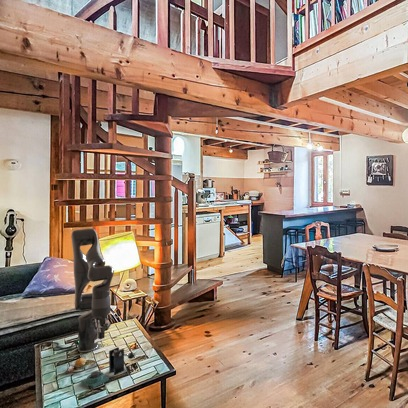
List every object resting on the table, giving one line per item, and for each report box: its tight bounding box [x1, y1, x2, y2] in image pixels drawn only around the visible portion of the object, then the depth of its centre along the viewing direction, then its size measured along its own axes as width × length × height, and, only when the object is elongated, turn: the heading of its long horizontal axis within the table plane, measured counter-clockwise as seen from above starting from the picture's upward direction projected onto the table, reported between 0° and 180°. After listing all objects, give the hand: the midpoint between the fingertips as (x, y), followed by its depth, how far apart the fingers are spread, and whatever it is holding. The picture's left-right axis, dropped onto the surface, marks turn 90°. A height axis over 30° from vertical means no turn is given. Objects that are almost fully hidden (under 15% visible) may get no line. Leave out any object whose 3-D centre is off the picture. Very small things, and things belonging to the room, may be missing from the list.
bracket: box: [108, 346, 125, 376], centre depth 163 cm, size 8×10×13 cm
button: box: [90, 370, 101, 378], centre depth 155 cm, size 4×4×2 cm
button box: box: [80, 371, 110, 389], centre depth 155 cm, size 10×7×4 cm
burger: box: [66, 357, 97, 374], centre depth 167 cm, size 12×12×8 cm
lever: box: [112, 350, 136, 360], centre depth 167 cm, size 12×3×3 cm
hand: (101, 338), depth 160 cm, fingers closed
